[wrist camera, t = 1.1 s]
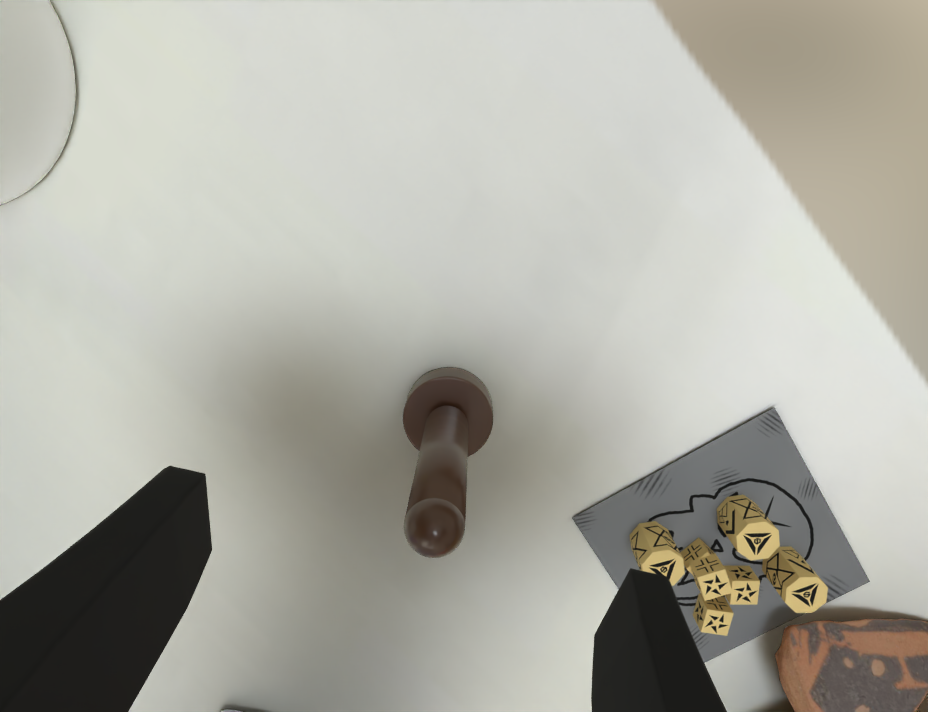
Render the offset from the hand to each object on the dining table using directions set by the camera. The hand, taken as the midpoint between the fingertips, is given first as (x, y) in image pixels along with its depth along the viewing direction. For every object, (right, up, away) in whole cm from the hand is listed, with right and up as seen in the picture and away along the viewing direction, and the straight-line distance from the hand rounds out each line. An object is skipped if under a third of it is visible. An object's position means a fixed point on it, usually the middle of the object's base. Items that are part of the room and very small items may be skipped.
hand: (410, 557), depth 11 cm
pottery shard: (+16, -11, +11) cm, 22 cm away
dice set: (+10, -4, +13) cm, 17 cm away
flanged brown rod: (0, +2, +12) cm, 12 cm away
